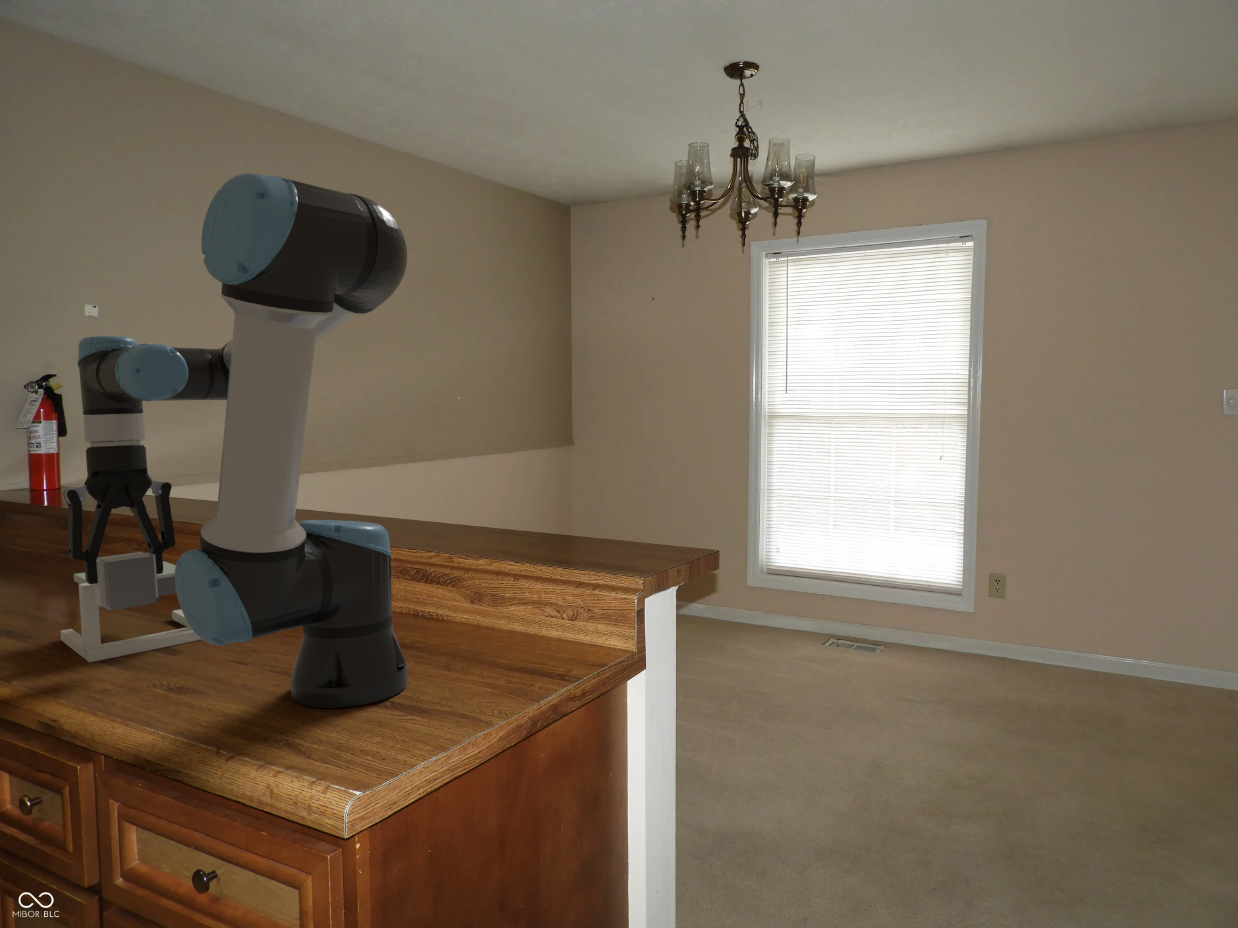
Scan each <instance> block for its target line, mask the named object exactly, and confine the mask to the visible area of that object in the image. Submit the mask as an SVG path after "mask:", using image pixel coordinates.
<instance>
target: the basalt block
mask: <svg viewBox="0 0 1238 928" xmlns="http://www.w3.org/2000/svg"><path fill="white" fill-rule="evenodd" d="M146 553H147V552H142V551H137V552H128V553H124V554H123V553H122V554H115V555H108V556H107V555H106V556H98V558H97V560H101V561H103V562H104V575H105V587H106V600H107V606H105V607H103V608H104V609H106V610H108V611H115V610H116V611H117V610H122V609H127V608H133V607H140V606H145V605H151V604H156V603H158V602H157V598H156V588H155V574H154V560H153V556H152V555H149V554H146Z"/></svg>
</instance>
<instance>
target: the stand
mask: <svg viewBox="0 0 1238 928" xmlns="http://www.w3.org/2000/svg"><path fill="white" fill-rule="evenodd" d="M78 596H79V611H80V624H81V625H80V627H81V634H80V633H78V632H77V631H75V630H74V629H72V628H69V629H63V630H60V641H62V642H63V643H64V644H65V645H66V646H68V647H69V648H70V649H72V650H73V651H75V653H77V654H78V655H79V656H80V657H82V658H83V659H85V660H86V661H87V662H88V663H93V662H98V661H99V662H101V661H103V660H104V661H105V660H108V659H109V660H110V659H113V658H118V657H123V656H129V655H133V654H138V653H142V652H143V653H144V652H148V651H152V650H158V649H162V648H168V647H171V646H177V645H183V644H187V643H192V642H196V641H201V640H202V639H201V638H200V637H199V636H198V635H197V634H196V633H195V632H194V631H193V630H192V628H191V627H190V625H189V624H188V622H187V620H186V618H185V616H184V614H183V612H182V610H181V608H180V609H174V610H172V611H171V612H172V613H171V614H172V616H171V617H172V621H175V622H177V623H179V624H180V625H182V626H185V627H181V628H177V629H173V630H168V631H161V632H157V633H151V634H146V635H141V636H136V637H129V638H125V639H121V640H115V641H111V642H110V641H109V642H106V643H102V641H101V640H102V639H101V626H100V625H101V624H100V610H99V609H100V606H98V605H96V600H95V587H94V584H88V583H83V584H79V583H78ZM202 641H203V640H202Z"/></svg>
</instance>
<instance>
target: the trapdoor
mask: <svg viewBox="0 0 1238 928" xmlns="http://www.w3.org/2000/svg"><path fill="white" fill-rule="evenodd" d="M175 567H176V564H173V563H170V562H167V561H163V573H162V574H157V586H158V597H160V596H168V595H174V594H177V593H176V587H175ZM73 581H74V582H75V583H77V584H78V585H79V584H83V583H87V581H86V576H85V572H78V573H73Z"/></svg>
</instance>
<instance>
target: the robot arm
mask: <svg viewBox="0 0 1238 928" xmlns="http://www.w3.org/2000/svg"><path fill="white" fill-rule="evenodd" d="M200 242H201V245H200V246H201V252H202V254H203V255H204V258H203V263H204V267H206V270H207V272H208V273H209V275H211V277H213V278H214V279H215V280H216V281H218V282H219V283H221V291H220V292H221V293H220V295H221V296H220V297H221V299H222V300H224V302H225V303H226V304H227V305H228V306H229V308H230V309H231V310H232V311H233V314H234V321H233V329H232V331H233V332H232V338H231V339H230V340H229V341H228V342H227V343H225V344H224V345H223V346H222V347H221V348H198V347H196V348H195V347H194V348H192V347H175V346H174V347H172V346H169V345H165V344H161V343H160V344H159V343H151V344H150V343H140V344H138V343H137V341H136V340H135V339H134V338H131V337H128V336H117V335H115V336H112V335H105V336H104V335H98V336H86V337H83V338H82V339H80V341H79V342H78V355H77V356H78V357H77V358H78V359H77V362H76V363H77V367H78V372H79V373H78V374H79V380H80V381H79V382H80V394H81V405H82V416H83V430H84V432H83V433H84V442H85V443H87V444H89V445H90V446H88V447H86V449H85V459H86V461H85V462H86V471H87V473H86V474H87V477H86V480H85V481H84V483H83V485H81V486H78V487H76V488H70V489H69V488H67V489H64V490H63V493H62V494H63V498H64V500H65V502H66V504H67V506H68V507H67V510H68V511H67V513H68V514H67V528H68V529H67V549H68V550H67V554H68V557H69V558H71V559H73V560H78V561H82V562H83V564H84V573H85V576H86V581H87V583H88V584H94V587H95V600H96V605H98V606H99V608H104V607H105V606H107V600H106V587H105V575H104V562H103V561H101V560H97V558H98V557H99V553H100V550H101V547H102V543H103V539H104V536H105V532H106V528H107V525H108V521H109V518H110V516H111V514H112V510H115V509H119V508H122V507H125V508H129V509H130V511H131V512H132V514H133V517H134V518H135V521H136V523H137V526H138V527H139V529H140V531H141V535H142V537H143V538H144V540H145V543H146V545H147V547H148V550H149V552H145V553H146V554H149V555H152V556H153V560H154V574H155V588H156V599H157V598H159V596H158V586H157V574H162V573H163V562H164V558H163V553H164V552H165V550H167V549H170V548H173V547H175V545H176V538H175V530H174V523H173V517H172V509H171V504H170V495H171V491H172V488H173V487H172V486H173V485H172V484H171V482H167V481H157V480H156V481H155V480H153V479H152V478H151V475H149V473H148V461H147V460H148V459H147V447H146V446H145V445H144V444H142V441H145V440H146V433H145V422H144V420H145V419H144V409H143V402H152V401H153V402H154V401H155V402H161V401H166V402H167V401H226V405H225V406H226V407H225V408H226V409H225V418H224V430H223V437H222V438H223V439H222V440H223V441H222V450H221V451H222V453H221V461H220V473H219V484H218V485H219V486H218V496H217V504H216V505H217V506H216V515H215V516H213V517H212V518H210V519H208V521H206V522H204V524H202V526H201V528H200V537H199V544H198V545H199V546H198V548H192V549H189V550H188V551H185V552H184V553H182V554H181V555H180V556H179V558H178V559H177V561H176V563H175V565H176V567H175V587H176V593H175V594H176V597H177V600H178V604H179V607H180V609H181V610H182V612H183V614H184V616H185V618H186V620H187V622H188V624H189V625H190V627H191V628H192V630H193V631H194V632H195V633H196V634H197V635H198V636H199V637H200V638H201V639H202V641H204V642H206V643H207V644H209V645H212V646H213V645H214V646H225V645H231V644H235V643H239V642H240V643H247V642H251V640H252V639H253V640H254V639H256V638H259V637H264V636H268V635H272V634H276V633H280V632H284V631H288V630H291V629H295V628H296V629H297V628H299V627H302V640H301V642H300V646H299V650H298V654H297V656H296V660H295V663H294V664H295V665H294V668H293V671H292V674H291V678H290V693H291V695H290V696H291V699H292V700H293V701H294V702H296V703H298V704H299V705H303V706H306V707H310V708H312V707H313V708H322V709H335V708H336V709H337V708H350V707H357V706H363V705H368V704H372V703H377V702H380V701H383V700H386V699H388V698H391V697H393V696H395V695H397V694H399V693H400V692H402V691H403V690H405V688H406V687H407V686H408V683H409V682H408V666H407V663H406V660H405V658H404V654H403V653H402V650H401V647H400V645H399V642H398V639H397V637H396V634H395V631H394V627H393V626H394V625H393V606H392V605H393V603H392V599H393V598H392V578H391V577H392V573H391V571H392V570H391V569H392V567H391V565H392V564H391V563H392V560H391V558H392V557H393V556H392V552H391V547H390V539H389V538H390V537H389V536H390V535H389V532H388V530H387V529H386V528H385V527H384V526H383V525H381V524H379V523H375V522H368V521H357V520H356V521H355V520H340V519H339V520H338V519H334V520H333V519H305V520H301V521H299V522H298V521H297V520H296V511H297V503H298V495H299V487H300V486H299V484H300V476H301V467H302V462H303V461H302V459H303V451H304V441H305V432H306V426H307V425H306V424H307V415H308V414H307V413H308V407H309V399H310V389H311V382H312V380H311V379H312V371H313V364H314V355H315V354H314V353H315V345H316V344H317V343H318V342H320V341H321V340H322V339H324V338H325V337H326V336H328V335H329V334H330V333H331V332H333V331H334V330H336V329H337V328H338V327H339V326H341V325H342V324H343V323H345V322H346V321H347V320H349V319H350V318H351V317H353V316H354V315H366V314H369V313H371V312H372V311H374V310H375V309H377V308H378V307H379V306H381V305H382V304H384V303H385V302H386V301H387V300H388V299H389V298H390V297H391V296H393V294H394V293H395V292H396V290H397V289H398V287H399V286H400V284H401V283H402V280H403V279H404V276H405V273H406V269H407V264H408V248H407V247H408V246H407V243H406V238H405V236H404V233H403V232H402V229H401V227H400V225H399V223H398V222H397V221H396V219H395V218H394V217H393V215H392V214H391V213H390V212H389V211H388V210H386V209H385V207H384V206H382V205H381V204H379V203H378V202H376V201H375V200H373V199H371V198H368V197H366V196H363V195H359V194H355V193H349V192H348V193H347V192H343V191H339V190H334V189H330V188H326V187H323V186H318V185H314V184H309V183H305V182H302V181H298V180H293V179H290V178H286V177H283V176H281V175H280V176H274V175H266V174H259V173H248V172H247V173H241V174H238V175H236V176H235V175H234V176H233V177H231V178H230V179H228V180H227V181H226V182H223V185H222V186H221V188H220V189H219V190H217V191H216V193H215V194H214V195H213V197H212V200H211V201H210V203H209V205H208V207H207V211H206V213H205V217H204V220H203V225H202V229H201V241H200ZM150 489H151V492H152V494H153V495H154V496H155V498H154V499H155V506H156V507H155V508H156V513H157V521H158V527H159V533H160V538H159V536H158V534H157V532H156V529H155V527H154V525H153V523H152V520H151V518H150V515H149V514H148V511H147V507H146V505H145V502H144V500H143V498H144V497H145V495H146V493H147V492H148V491H149V490H150ZM87 493H88V494H89V495H90V496H91V498H93V500H95V501H96V505H95V509H94V516H93V520H92V524H91V527H90V530H89V535H88V538H87V541H86V545H85V549H84V550H83V504H82V503H84V501H86V494H87Z"/></svg>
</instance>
